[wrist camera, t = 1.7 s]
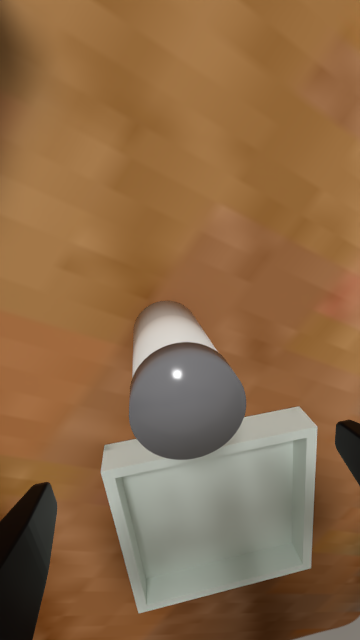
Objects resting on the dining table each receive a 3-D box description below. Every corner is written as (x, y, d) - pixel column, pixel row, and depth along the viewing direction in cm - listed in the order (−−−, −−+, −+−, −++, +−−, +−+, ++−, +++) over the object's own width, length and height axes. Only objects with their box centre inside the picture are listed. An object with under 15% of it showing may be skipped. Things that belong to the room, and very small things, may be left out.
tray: (138, 579, 27) (138, 613, 24) (104, 445, 22) (100, 471, 19) (296, 539, 28) (310, 568, 26) (298, 406, 23) (317, 426, 21)
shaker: (137, 367, 20) (139, 470, 12) (126, 304, 19) (118, 369, 10) (201, 356, 21) (248, 447, 12) (195, 294, 19) (243, 348, 11)
